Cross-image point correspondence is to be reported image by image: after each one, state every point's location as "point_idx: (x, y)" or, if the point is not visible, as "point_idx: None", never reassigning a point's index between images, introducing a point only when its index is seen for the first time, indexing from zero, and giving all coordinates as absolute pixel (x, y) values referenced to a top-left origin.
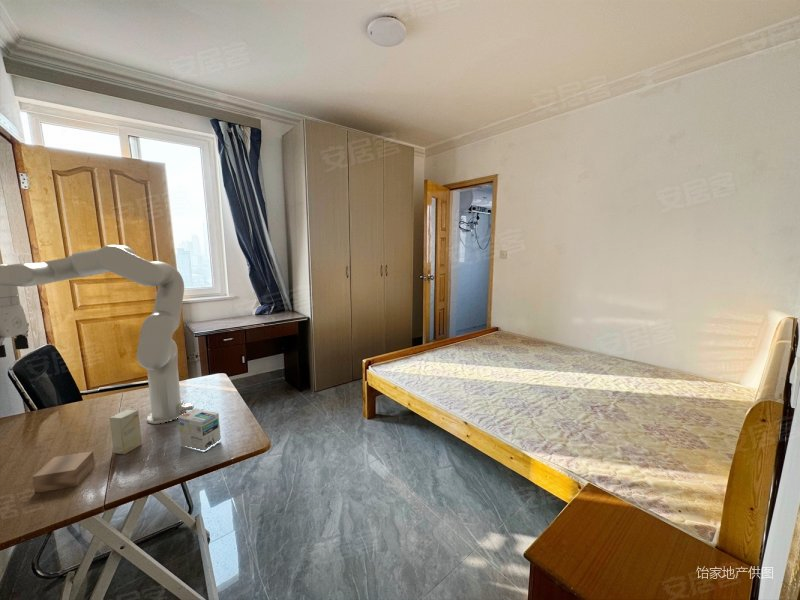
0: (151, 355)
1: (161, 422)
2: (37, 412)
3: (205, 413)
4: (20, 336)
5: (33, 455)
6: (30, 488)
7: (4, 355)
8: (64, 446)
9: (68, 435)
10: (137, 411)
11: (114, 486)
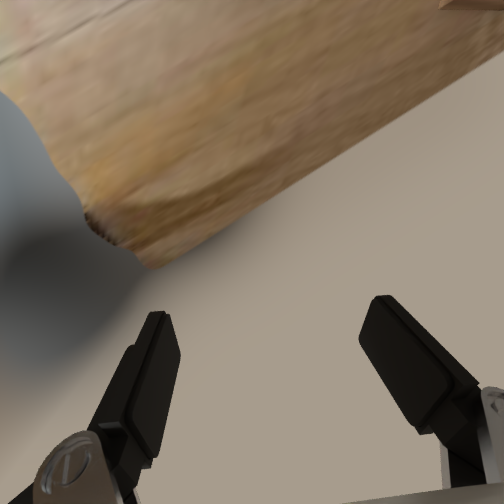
0: None
1: None
2: (129, 238)
3: None
4: (125, 469)
5: (332, 118)
6: (474, 34)
7: (396, 301)
8: (318, 66)
9: (261, 91)
10: None
11: None
